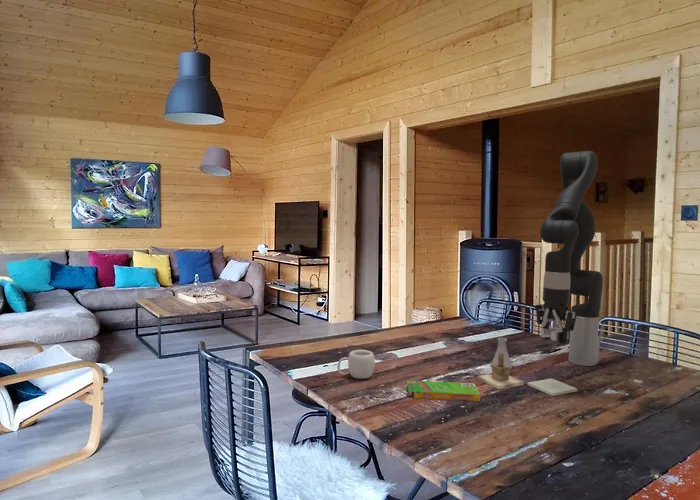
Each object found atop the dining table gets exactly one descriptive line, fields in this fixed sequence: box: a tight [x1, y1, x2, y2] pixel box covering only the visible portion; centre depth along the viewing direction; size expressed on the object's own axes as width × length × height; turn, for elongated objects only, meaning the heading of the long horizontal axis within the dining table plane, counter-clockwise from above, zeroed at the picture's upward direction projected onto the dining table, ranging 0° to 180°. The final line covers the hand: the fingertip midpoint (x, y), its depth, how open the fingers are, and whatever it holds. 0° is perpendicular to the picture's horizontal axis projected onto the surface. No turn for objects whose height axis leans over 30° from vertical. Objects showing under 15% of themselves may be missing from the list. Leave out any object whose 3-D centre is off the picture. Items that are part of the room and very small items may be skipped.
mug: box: [336, 349, 375, 380], centre depth 163 cm, size 12×8×8 cm
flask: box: [490, 337, 513, 370], centre depth 175 cm, size 7×7×10 cm
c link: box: [539, 326, 570, 342], centre depth 154 cm, size 6×6×2 cm
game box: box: [406, 380, 481, 402], centre depth 149 cm, size 3×10×20 cm
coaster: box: [527, 378, 578, 397], centre depth 155 cm, size 10×10×1 cm
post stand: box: [476, 353, 525, 390], centre depth 159 cm, size 10×10×9 cm
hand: (554, 341), depth 154 cm, fingers closed on c link, 5 cm apart
